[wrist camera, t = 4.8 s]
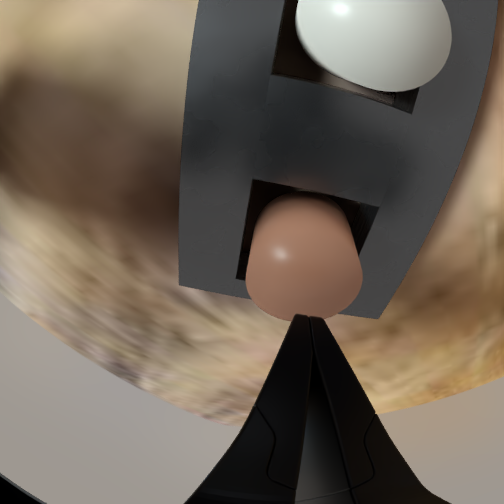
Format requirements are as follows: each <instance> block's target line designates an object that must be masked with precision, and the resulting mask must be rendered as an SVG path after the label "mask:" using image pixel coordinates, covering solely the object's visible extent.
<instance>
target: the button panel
mask: <svg viewBox="0 0 504 504" xmlns="http://www.w3.org/2000/svg"><path fill="white" fill-rule="evenodd" d="M286 1H287V0H199V3H198V8H197V14H196V20H195V27H194V33H193V40H192V48H191V55H190V63H189V71H188V80H187V89H186V99H185V110H184V122H183V135H182V151H181V169H180V193H179V285H181V286H186V287H190V288H195V289H200V290H205V291H210V292H215V293H220V294H225V295H231V296H236V297H241V298H247V299H251V297H250V295H249V293H248V291H247V287H246V272H247V266H248V261H249V255H250V253H246V252H242V246H243V240H244V234H245V228H246V222H247V216H248V210H249V205H250V199H251V193H252V187H253V181H254V179H256V180H262V181H267V182H272V183H277V184H282V185H287V186H292V187H297V188H302V189H306V190H311V191H316V192H320V193H324V194H329V195H333V196H337V197H342V198H346V199H350V200H354V201H358V202H361V205H360V207H359V210H358V213H357V215H356V218H355V221H354V223H353V226H352V228H351V233H352V236H353V240H354V243H355V246H356V250H357V253H358V257H359V261H360V264H361V268H362V273H363V280H362V285H361V289H360V291H359V293H358V295H357V297H356V298H355V299H354V301H353V302H352V303H351V304H350V305H349V306H348V307H347V308H345V309H344V310H342V311H341V312H339V313H337V314H344V315H351V316H358V317H366V318H373V319H378V318H379V317H380V315H381V314H382V312H383V311H384V309H385V308H386V306H387V304H388V303H389V301H390V300H391V298H392V297H393V295H394V293H395V292H396V290H397V288H398V287H399V285H400V283H401V282H402V280H403V278H404V277H405V275H406V273H407V271H408V270H409V268H410V266H411V264H412V263H413V261H414V259H415V257H416V255H417V254H418V252H419V250H420V248H421V246H422V244H423V242H424V240H425V238H426V236H427V235H428V233H429V231H430V229H431V227H432V225H433V222H434V220H435V218H436V216H437V214H438V212H439V210H440V208H441V206H442V203H443V201H444V199H445V197H446V195H447V192H448V190H449V188H450V185H451V183H452V181H453V178H454V176H455V173H456V171H457V168H458V166H459V163H460V160H461V158H462V155H463V152H464V150H465V147H466V144H467V141H468V138H469V136H470V133H471V130H472V126H473V123H474V120H475V117H476V114H477V110H478V107H479V103H480V100H481V96H482V92H483V88H484V84H485V80H486V76H487V71H488V67H489V62H490V57H491V52H492V46H493V40H494V33H495V26H496V17H497V7H498V0H442V2H443V4H444V6H445V8H446V11H447V13H448V17H449V20H450V25H451V34H452V41H451V48H450V52H449V56H448V58H447V60H446V63H445V64H444V66H443V67H442V69H441V70H440V72H439V73H438V74H437V75H436V76H435V77H434V78H433V79H431V80H430V81H429V82H427V83H425V84H424V85H422V86H419V87H417V88H414V89H410V90H406V91H398V92H396V95H395V99H394V103H393V105H392V104H390V103H387V102H384V101H381V100H378V99H375V98H372V97H369V96H366V95H363V94H360V93H357V92H353V91H350V90H346V89H343V88H339V87H336V86H332V85H328V84H324V83H320V82H316V81H312V80H307V79H303V78H298V77H293V76H289V75H283V74H278V73H273V70H274V65H275V59H276V54H277V48H278V43H279V38H280V33H281V27H282V22H283V17H284V12H285V6H286Z"/></svg>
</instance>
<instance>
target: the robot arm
mask: <svg viewBox="0 0 504 504" xmlns="http://www.w3.org/2000/svg"><path fill="white" fill-rule="evenodd" d="M0 504H46V503H45V502H43V501H41V500H40V499H38V498H36V497H35V496H33V495H32V494H30V493H28V492H27V491H25V490H24V489H22V488H21V487H19V486H18V485H16V484H15V483H13V482H12V481H11V480H9V479H8V478H6V477H5V476H4V475H2V474H1V473H0ZM184 504H451V503H449V502H447V501H445V500H443V499H441V498H440V497H438V496H436V495H434V494H432V493H431V492H430V491H428V490H427V489H426V488H425V487H424V486H423V485H422V484H421V482H420V481H419V480H418V478H417V477H416V476H415V474H414V473H413V471H412V470H411V468H410V467H409V465H408V464H407V462H406V461H405V460H404V458H403V457H402V455H401V454H400V452H399V451H398V449H397V448H396V446H395V445H394V443H393V441H392V440H391V438H390V437H389V435H388V433H387V432H386V430H385V428H384V426H383V425H382V423H381V421H380V419H379V417H378V415H377V414H375V410H374V408H373V406H372V404H371V403H370V401H369V399H368V397H367V395H366V393H365V392H364V390H363V388H362V386H361V384H360V383H359V381H358V379H357V377H356V375H355V374H354V372H353V370H352V368H351V366H350V365H349V363H348V361H347V359H346V358H345V356H344V354H343V352H342V350H341V349H340V347H339V345H338V343H337V342H336V340H335V338H334V336H333V335H332V333H331V331H330V329H329V328H328V326H327V324H326V323H325V321H324V319H323V318H322V317H317V316H309V317H308V316H307V315H303V314H295V315H294V317H293V319H292V322H291V324H290V326H289V329H288V331H287V333H286V336H285V338H284V340H283V343H282V345H281V347H280V349H279V352H278V354H277V356H276V358H275V361H274V363H273V365H272V367H271V369H270V372H269V374H268V376H267V378H266V380H265V383H264V385H263V387H262V389H261V391H260V393H259V395H258V397H257V399H256V402H255V404H254V406H253V407H252V409H251V412H250V414H249V416H248V418H247V419H246V421H245V423H244V425H243V427H242V429H241V430H240V432H239V434H238V435H237V437H236V438H235V440H234V441H233V443H232V444H231V446H230V447H229V449H228V450H227V451H226V453H225V454H224V455H223V457H222V458H221V459H220V460H219V462H218V463H217V464H216V466H215V467H214V468H213V469H212V471H211V472H210V473H209V474H208V476H207V477H206V478H205V480H204V481H203V482H202V483H201V484H200V486H199V487H198V488H197V489H196V490H195V492H194V493H193V494H192V495H191V496H190V497H189V498H188V500H187V501H186V502H185V503H184Z"/></svg>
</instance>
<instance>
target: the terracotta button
mask: <svg viewBox="0 0 504 504" xmlns="http://www.w3.org/2000/svg"><path fill="white" fill-rule="evenodd" d="M362 280H363V273H362V268H361V264H360V261H359V257H358V253H357V250H356V246H355V243H354V240H353V236H352V233H351V230H350V226H349V223H348V220H347V217H346V215H345V213H344V212H343V210H342V209H341V207H340V206H339V205H338V204H337V203H335V202H334V201H333V200H331V199H330V198H328V197H326V196H324V195H322V194H318V193H315V192H309V191H297V192H291V193H287V194H284V195H281V196H279V197H277V198H275V199H274V200H272V201H271V202H269V203H268V204H267V205H266V206H265V207H264V208H263V209H262V211H261V212H260V214H259V215H258V218H257V220H256V223H255V228H254V233H253V239H252V244H251V250H250V255H249V261H248V266H247V272H246V287H247V291H248V293H249V295H250V297H251V299H252V300H253V301H254V303H255V304H256V305H257V306H258V307H259V308H261V309H262V310H263V311H265V312H266V313H268V314H270V315H272V316H274V317H277V318H280V319H283V320H287V321H292V319H293V317H294V315H295V314H303V315H307V316H308V317H309V316H317V317H322V318H323V319H326V318H328V317H331V316H333V315H336V314H337V313H339V312H341V311H342V310H344V309H345V308H347V307H348V306H349V305H350V304H351V303H352V302H353V301H354V299H355V298H356V297H357V295H358V293H359V291H360V289H361V285H362Z"/></svg>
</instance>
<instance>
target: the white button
mask: <svg viewBox="0 0 504 504" xmlns="http://www.w3.org/2000/svg"><path fill="white" fill-rule="evenodd" d="M295 28H296V33H297V36H298V39H299V42H300V44H301V46H302V48H303V49H304V51H305V52H306V54H307V55H308V56H309V57H310V58H311V59H312V60H313V61H314V62H315V63H316V64H317V65H318V66H319V67H321V68H322V69H323V70H325V71H327V72H328V73H330V74H332V75H334V76H336V77H339V78H342V79H345V80H348V81H351V82H353V83H356V84H359V85H362V86H364V87H367V88H371V89H374V90H380V91H388V92H398V91H406V90H410V89H414V88H417V87H419V86H422V85H424V84H425V83H427V82H429V81H430V80H431V79H433V78H434V77H435V76H436V75H437V74H438V73H439V72H440V70H441V69H442V67H443V66H444V64H445V63H446V60H447V58H448V56H449V52H450V48H451V41H452V34H451V25H450V20H449V17H448V13H447V11H446V8H445V6H444V4H443V2H442V0H299V1H298V5H297V9H296V15H295Z"/></svg>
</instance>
